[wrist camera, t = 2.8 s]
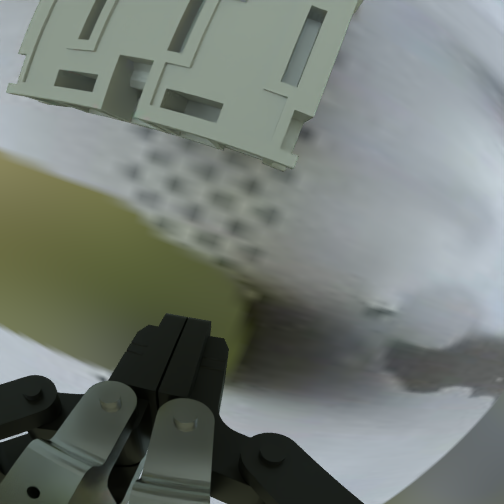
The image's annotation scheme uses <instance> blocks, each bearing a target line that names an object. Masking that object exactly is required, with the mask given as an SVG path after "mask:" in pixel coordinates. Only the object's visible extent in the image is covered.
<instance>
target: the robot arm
mask: <svg viewBox="0 0 504 504" xmlns="http://www.w3.org/2000/svg"><path fill="white" fill-rule="evenodd" d="M210 331H211V321H206V320H201V319H195V318H190V317H189V318H188V317H184V316H178V315H173V314H167V313H166V314H165V316H164V318H163V319H162V321H161V323H160V325H159V327H157V326H152V325H148V326H146V327H145V328H143V329H142V330H140V331H139V332H137V334H136V336H135V337H134V339H133V340H132V343H131V344H130V345H129V347H128V348H127V352H125V354H124V355H123V357H122V358H121V360H120V362H119V363H118V365H117V367H116V368H115V370H114V372H113V373H112V375H111V377H110V378H109V380H108V381H103V382H99V383H97V384H95V385H93V386H92V387H90V388H89V389H88V390H87V392H86V393H85V394H68V393H57V390H56V387H55V385H54V383H53V382H52V381H51V380H49V379H48V378H46V377H43V376H39V375H31V376H26V377H23V378H20V379H17V380H14V381H11V382H7V383H4V384H1V385H0V440H1V439H5V438H8V437H11V436H14V435H17V434H20V433H23V432H26V431H28V434H25V435H22V436H19V437H16V438H13V439H10V440H7V441H4V442H0V504H210V496H211V497H213V498H215V499H217V500H220V501H222V502H224V503H227V504H364V503H363V502H361V501H360V500H359V499H358V498H357V497H355V496H354V495H353V494H352V493H351V492H349V491H348V490H347V489H346V488H345V487H344V486H342V485H341V484H340V483H339V482H338V481H337V480H335V479H334V478H333V477H332V476H331V475H330V474H329V473H328V472H326V471H325V470H324V469H323V468H322V467H321V466H320V465H319V464H318V463H317V462H315V461H314V460H313V459H312V458H311V457H310V456H309V455H308V454H307V453H306V452H305V451H304V450H303V449H302V448H300V447H299V446H298V445H297V444H296V443H295V442H294V441H293V440H291V439H290V438H288V437H286V436H284V435H281V434H276V433H262V434H258V435H255V436H253V437H251V438H250V437H248V436H245V435H243V434H240V433H238V432H236V431H234V430H232V429H230V428H229V427H228V426H227V425H226V424H225V423H224V422H223V421H222V419H221V418H220V415H219V411H220V405H221V400H222V394H223V388H224V382H225V374H226V367H227V359H228V351H229V349H228V346H227V344H226V342H225V339H224V338H218V337H212V336H210ZM147 450H148V451H147ZM146 453H147V454H146ZM142 470H143V472H142ZM141 472H142V475H141V478H140V479H139V477H140V474H141ZM128 502H129V503H128Z"/></svg>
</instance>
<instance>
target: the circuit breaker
mask: <svg viewBox="0 0 504 504" xmlns="http://www.w3.org/2000/svg"><path fill="white" fill-rule="evenodd" d="M357 1H358V0H40V2H39V4H38V7H37V9H36V11H35V13H34V15H33V18H32V20H31V22H30V24H29V27H28V29H27V32H26V34H25V37H24V39H23V42H22V44H21V47H20V50H19V53H18V54H22V55H26V58H25V61H24V63H23V66H22V70H21V73H20V76H19V79H18V83H17V84H12V83H9V84H8V87H7V91H6V92H7V93H10V94H14V95H20V96H25V97H28V98H32V99H35V100H38V102H41V103H45V104H48V105H56V106H64V107H73V108H76V109H79V110H82V111H84V112H87V113H92V114H96V115H100V116H105V117H109V118H113V119H117V120H121V121H125V122H129V123H133V124H137V125H140V126H144V127H148V128H151V129H155V130H158V131H162V132H165V133H169V134H172V135H176V136H179V137H182V138H186V139H189V140H192V141H196V142H199V143H202V144H205V145H208V146H211V147H214V148H217V149H220V150H223V151H224V148H225V147H226V148H229V149H232V150H235V151H237V152H240V153H243V154H246V155H249V156H252V157H255V158H257V159H260V160H263V164H266V165H268V166H270V167H273V168H275V169H278V170H280V171H285V170H286V168H290V169H293V168H294V167H295V165H296V162H297V159H298V157H299V156H297V155H295V154H292V152H293V149H294V147H295V144H296V142H297V139H298V136H299V134H300V131H301V129H302V126H303V123H304V122H306V121H308V120H309V119H311V118H313V117H314V115H315V113H316V110H317V107H318V105H319V102H320V100H321V97H322V94H323V92H324V89H325V86H326V84H327V81H328V79H329V76H330V73H331V71H332V68H333V65H334V63H335V60H336V57H337V55H338V52H339V49H340V47H341V44H342V41H343V39H344V36H345V33H346V31H347V28H348V25H349V23H350V20H351V17H352V15H353V12H354V9H355V7H356V4H357Z"/></svg>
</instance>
